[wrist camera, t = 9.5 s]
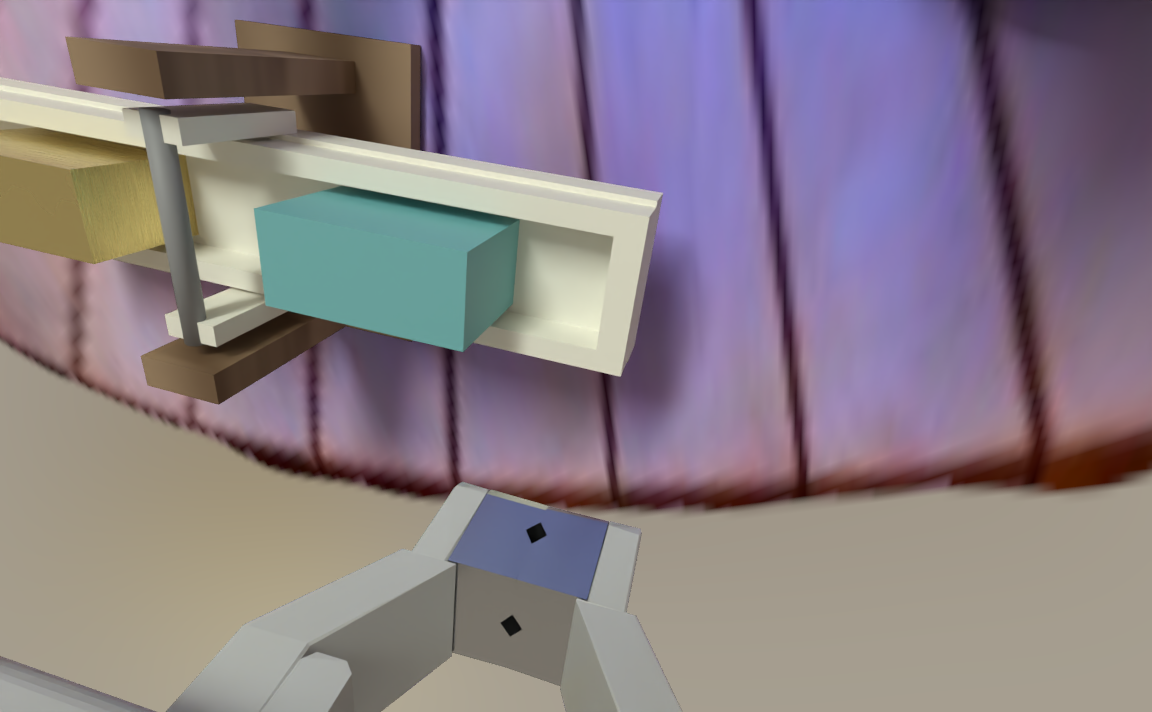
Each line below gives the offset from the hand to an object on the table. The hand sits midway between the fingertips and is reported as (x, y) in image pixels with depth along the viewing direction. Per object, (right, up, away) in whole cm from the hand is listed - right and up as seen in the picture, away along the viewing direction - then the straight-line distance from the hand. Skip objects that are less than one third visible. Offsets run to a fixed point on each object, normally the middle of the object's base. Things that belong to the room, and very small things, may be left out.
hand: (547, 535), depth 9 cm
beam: (-11, +9, +15) cm, 21 cm away
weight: (-18, +10, +15) cm, 26 cm away
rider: (-5, +7, +13) cm, 15 cm away
